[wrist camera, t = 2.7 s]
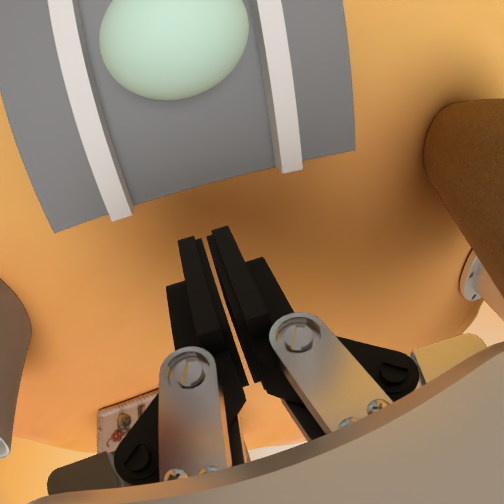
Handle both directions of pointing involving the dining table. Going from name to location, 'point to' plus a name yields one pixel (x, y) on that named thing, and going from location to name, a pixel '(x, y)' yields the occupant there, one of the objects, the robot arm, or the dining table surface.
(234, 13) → the ball
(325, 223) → the dining table surface
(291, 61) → the board
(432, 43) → the dining table surface
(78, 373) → the dining table surface
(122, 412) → the decorative jar
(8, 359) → the coffee mug
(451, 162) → the plant pot
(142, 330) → the dining table surface
